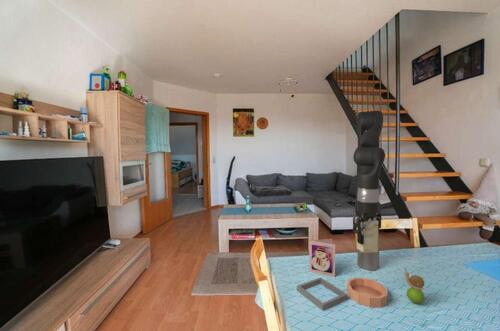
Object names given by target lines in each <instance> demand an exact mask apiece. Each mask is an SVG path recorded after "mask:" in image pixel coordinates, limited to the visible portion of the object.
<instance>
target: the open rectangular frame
mask: <svg viewBox="0 0 500 331" xmlns="http://www.w3.org/2000/svg"><path fill="white" fill-rule="evenodd" d="M318 285H322V286H324V287H325V288H326V289H328V290H329V291H331V292H332V293H334V294H335V295H337V296H336V297H333V298H331V299H328V300H326V301H324V302H322V301H321V300H319V299H318V298H317V297H316V296H314V295H313V294H312V293H310V292H309V291H307V289H310V288H312V287H316V286H318ZM296 292H298V293H299V294H301V295H302V296H303V297H304V298H306V299H307V300H308V301H310V302H311V303H312V304H314V305H315V306H316V307H317V308H318V309H320V311H322V312H323V311H325V310H327V309H329V308H332V307H334V306H336V305H339V304H341V303H344V302H346V301H348V297H349V295H348V294H347V292H345V291H343V290H341V289H340V288H338V287H337V286H335V285H334V284H332V283H330V282H328V281H327V280H325V278H322V277H318V278H315V279H313V280H309V281H307V282H304V283H301V284H298V285H296Z"/></svg>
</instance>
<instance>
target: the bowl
mask: <svg viewBox="0 0 500 331" xmlns="http://www.w3.org/2000/svg"><path fill="white" fill-rule="evenodd" d="M346 294H348V297H349V298H350V300H352V301H353V302H355V303H357V304H359V305H362V306H364V307H368V308H383V307H384V306H387V305H388V289H387V288H386V286H384V284H382V283H380V282H378V281H377V280H374V279H370V278H367V277H358V276H357V277H356V276H355V277H352V278H350V279H348V280H347V282H346Z"/></svg>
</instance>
